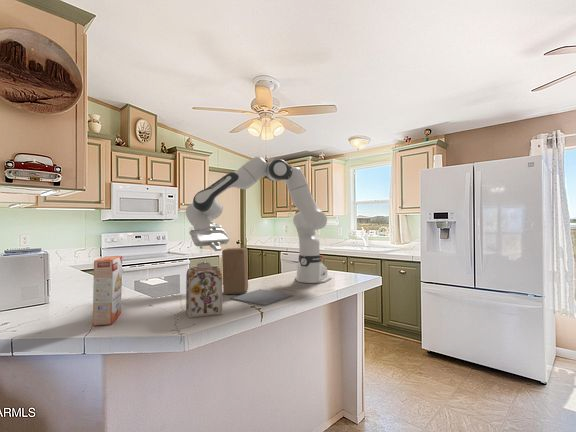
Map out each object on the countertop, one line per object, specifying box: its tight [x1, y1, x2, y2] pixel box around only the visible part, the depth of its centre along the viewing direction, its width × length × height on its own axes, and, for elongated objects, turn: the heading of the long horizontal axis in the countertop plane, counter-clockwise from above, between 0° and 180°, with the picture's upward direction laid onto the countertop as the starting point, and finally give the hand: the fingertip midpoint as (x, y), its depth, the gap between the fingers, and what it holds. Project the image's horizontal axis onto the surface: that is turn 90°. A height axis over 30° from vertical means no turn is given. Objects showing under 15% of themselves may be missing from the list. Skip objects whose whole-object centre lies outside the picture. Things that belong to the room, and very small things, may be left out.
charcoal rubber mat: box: [229, 288, 294, 307], centre depth 137 cm, size 20×19×1 cm
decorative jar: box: [185, 261, 223, 319], centre depth 115 cm, size 12×12×18 cm
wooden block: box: [221, 247, 249, 295], centre depth 146 cm, size 10×10×20 cm
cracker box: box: [92, 255, 123, 327], centre depth 107 cm, size 14×6×21 cm, turn 17°
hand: (218, 250), depth 153 cm, fingers closed
